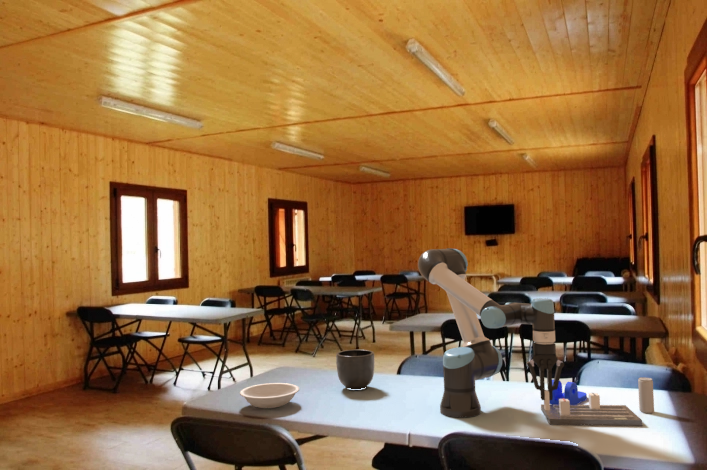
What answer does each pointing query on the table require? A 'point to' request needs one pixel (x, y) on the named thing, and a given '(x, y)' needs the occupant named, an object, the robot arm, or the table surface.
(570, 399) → the bracket
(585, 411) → the console
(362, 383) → the planter
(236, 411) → the table surface
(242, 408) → the table surface
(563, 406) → the fader
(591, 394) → the fader
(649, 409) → the beverage can
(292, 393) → the soup bowl
